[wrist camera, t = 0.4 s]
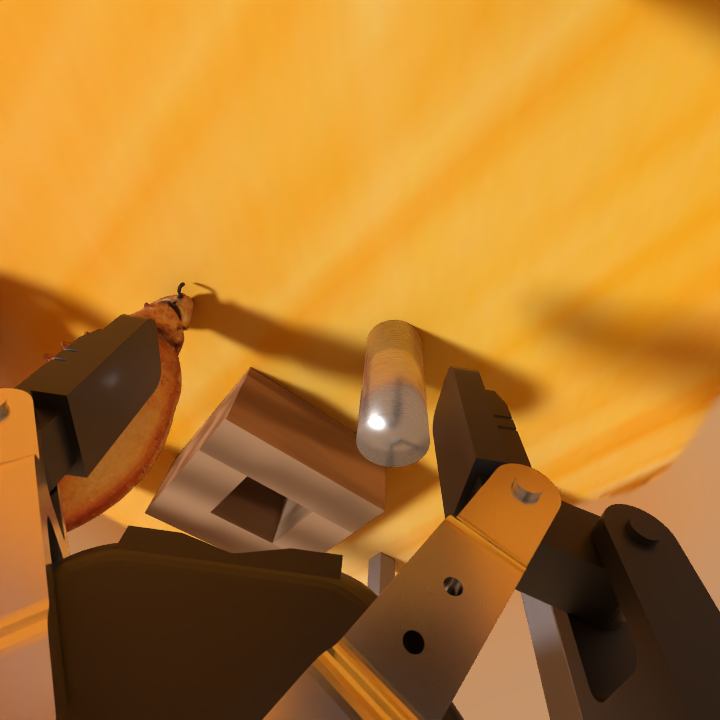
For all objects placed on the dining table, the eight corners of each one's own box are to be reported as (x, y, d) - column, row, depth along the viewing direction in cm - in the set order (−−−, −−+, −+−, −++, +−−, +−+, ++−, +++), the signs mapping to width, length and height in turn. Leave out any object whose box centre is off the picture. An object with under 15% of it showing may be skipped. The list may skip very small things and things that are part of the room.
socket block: (250, 367, 34) (225, 419, 29) (386, 453, 38) (384, 511, 33) (175, 458, 41) (144, 513, 36) (298, 522, 45) (286, 579, 40)
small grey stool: (447, 418, 36) (522, 955, 14) (535, 480, 39) (702, 989, 18) (303, 528, 46) (220, 941, 24) (383, 570, 49) (372, 964, 28)
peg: (391, 309, 30) (389, 402, 22) (433, 341, 32) (445, 440, 23) (355, 345, 32) (341, 443, 24) (396, 374, 34) (396, 477, 25)
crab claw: (250, 300, 31) (83, 575, 14) (226, 351, 33) (62, 633, 17) (154, 251, 29) (-159, 498, 13) (137, 309, 32) (-140, 575, 15)
